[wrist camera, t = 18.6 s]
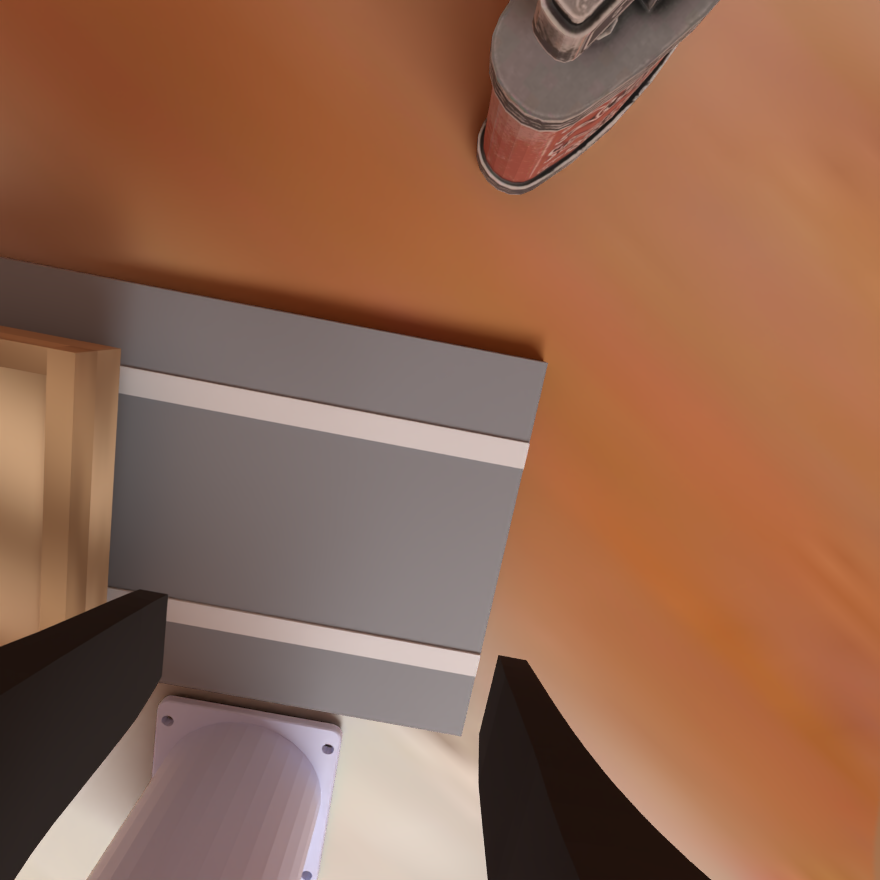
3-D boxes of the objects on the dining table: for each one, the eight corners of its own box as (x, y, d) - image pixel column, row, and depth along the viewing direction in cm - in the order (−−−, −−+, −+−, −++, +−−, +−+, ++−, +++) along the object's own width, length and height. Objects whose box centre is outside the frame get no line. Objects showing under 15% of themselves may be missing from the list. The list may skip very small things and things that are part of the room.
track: (461, 722, 24) (461, 738, 23) (-229, 599, 23) (-255, 610, 23) (543, 361, 20) (548, 363, 20) (-266, 205, 20) (-299, 200, 19)
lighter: (637, -48, 18) (868, -503, 8) (702, 37, 18) (995, -289, 8) (454, 143, 19) (456, -41, 9) (519, 218, 19) (587, 120, 10)
